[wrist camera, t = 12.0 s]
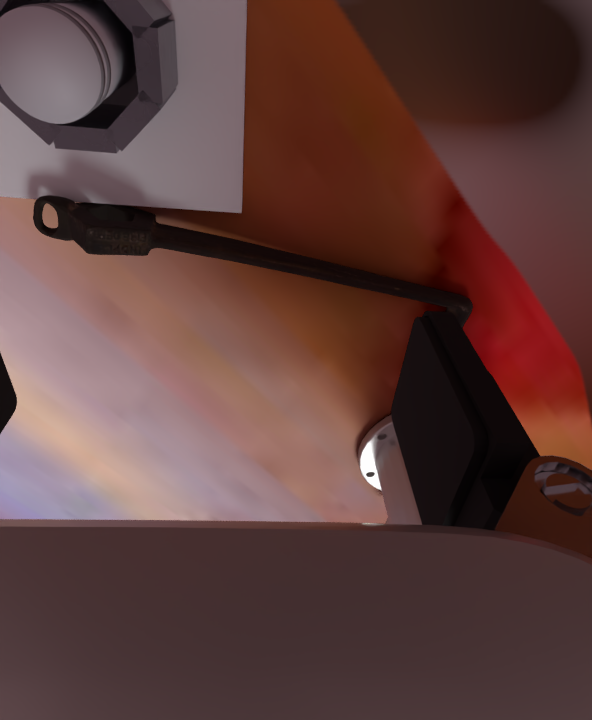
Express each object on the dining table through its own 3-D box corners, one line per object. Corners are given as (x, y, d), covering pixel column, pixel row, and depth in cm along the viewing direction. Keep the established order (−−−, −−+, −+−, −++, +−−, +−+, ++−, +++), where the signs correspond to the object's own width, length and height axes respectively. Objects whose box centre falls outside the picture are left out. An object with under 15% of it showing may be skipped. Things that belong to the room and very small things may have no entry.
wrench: (430, 334, 40) (44, 251, 31) (460, 282, 37) (46, 175, 28) (456, 372, 36) (19, 289, 27) (491, 316, 33) (19, 204, 24)
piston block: (242, 204, 30) (236, 276, 23) (10, 187, 29) (-77, 260, 21) (251, -165, 20) (246, -249, 13) (-105, -219, 19) (-343, -350, 11)
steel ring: (180, 130, 26) (166, 157, 22) (42, 118, 25) (2, 144, 21) (171, -41, 21) (152, -46, 17) (3, -63, 21) (-57, -72, 17)
